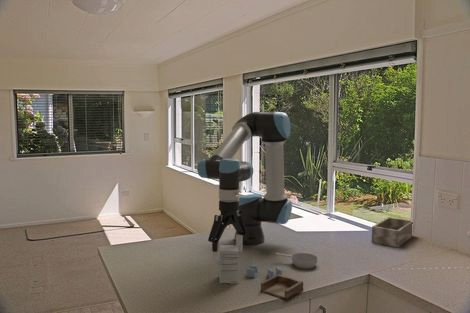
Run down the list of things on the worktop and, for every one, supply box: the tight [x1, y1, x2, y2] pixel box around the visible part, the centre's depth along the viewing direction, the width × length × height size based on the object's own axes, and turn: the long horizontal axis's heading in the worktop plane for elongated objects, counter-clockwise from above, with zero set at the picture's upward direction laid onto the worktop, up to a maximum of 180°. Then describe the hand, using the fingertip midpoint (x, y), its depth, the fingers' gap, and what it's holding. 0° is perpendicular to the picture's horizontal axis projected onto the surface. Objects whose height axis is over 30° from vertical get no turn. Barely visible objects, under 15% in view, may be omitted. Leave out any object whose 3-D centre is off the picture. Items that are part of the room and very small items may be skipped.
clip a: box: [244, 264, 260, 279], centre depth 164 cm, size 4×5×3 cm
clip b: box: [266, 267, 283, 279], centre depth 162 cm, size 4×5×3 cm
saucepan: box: [275, 252, 319, 270], centre depth 177 cm, size 11×18×4 cm, turn 71°
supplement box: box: [218, 244, 240, 285], centre depth 158 cm, size 7×7×13 cm
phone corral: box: [371, 216, 413, 248], centre depth 214 cm, size 13×25×8 cm, turn 141°
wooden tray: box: [260, 274, 304, 301], centre depth 149 cm, size 11×11×3 cm
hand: (228, 255), depth 157 cm, fingers open, 13 cm apart
